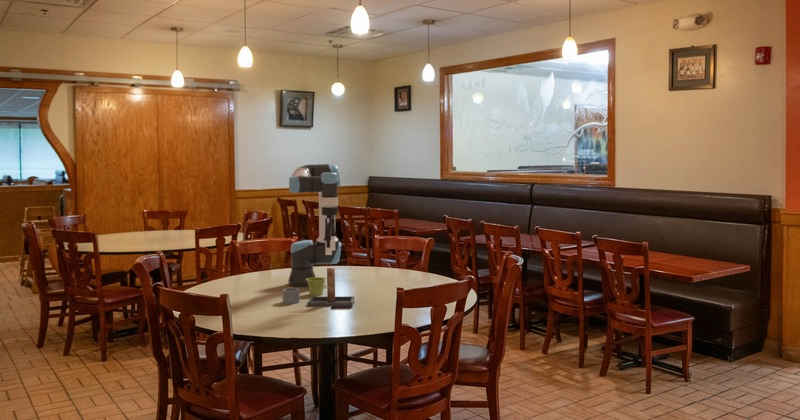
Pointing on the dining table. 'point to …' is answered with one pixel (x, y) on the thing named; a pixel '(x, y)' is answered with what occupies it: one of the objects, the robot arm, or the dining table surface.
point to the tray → (339, 302)
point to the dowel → (330, 285)
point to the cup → (291, 295)
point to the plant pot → (315, 285)
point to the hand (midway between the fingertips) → (330, 252)
